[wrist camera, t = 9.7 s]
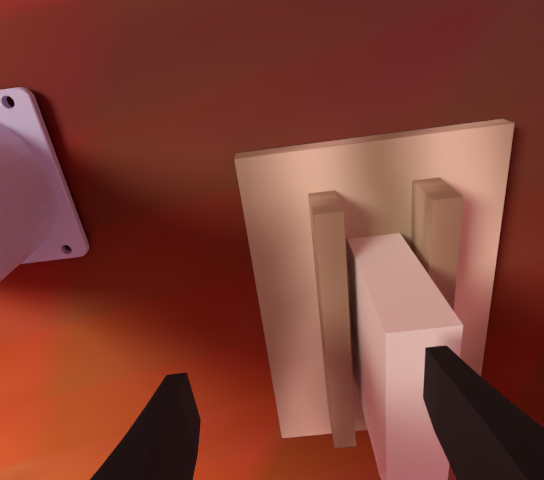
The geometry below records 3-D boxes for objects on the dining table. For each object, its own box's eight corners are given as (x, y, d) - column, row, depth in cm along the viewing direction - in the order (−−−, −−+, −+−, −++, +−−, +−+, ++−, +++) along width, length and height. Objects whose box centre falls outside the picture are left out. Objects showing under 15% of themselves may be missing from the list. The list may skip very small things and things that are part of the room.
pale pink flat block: (354, 378, 24) (386, 501, 17) (347, 238, 20) (385, 333, 13) (398, 373, 23) (447, 495, 17) (400, 232, 19) (464, 324, 13)
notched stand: (281, 424, 27) (283, 476, 23) (235, 153, 19) (229, 176, 16) (468, 406, 26) (495, 456, 23) (502, 118, 18) (551, 135, 15)
